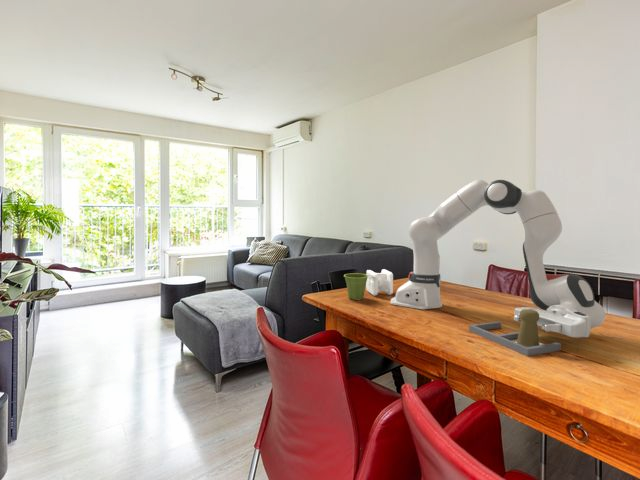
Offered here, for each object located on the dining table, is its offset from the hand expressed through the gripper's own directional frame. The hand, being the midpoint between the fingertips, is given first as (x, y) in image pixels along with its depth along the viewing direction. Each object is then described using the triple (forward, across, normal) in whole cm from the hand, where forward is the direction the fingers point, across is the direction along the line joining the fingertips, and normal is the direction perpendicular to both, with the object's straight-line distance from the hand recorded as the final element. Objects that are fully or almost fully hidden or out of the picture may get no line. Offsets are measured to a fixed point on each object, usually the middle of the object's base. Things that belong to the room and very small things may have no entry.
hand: (529, 323), depth 105 cm
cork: (0, 0, +7) cm, 7 cm away
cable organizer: (+9, -77, +7) cm, 78 cm away
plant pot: (+25, -72, +7) cm, 76 cm away
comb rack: (0, -5, +7) cm, 9 cm away
